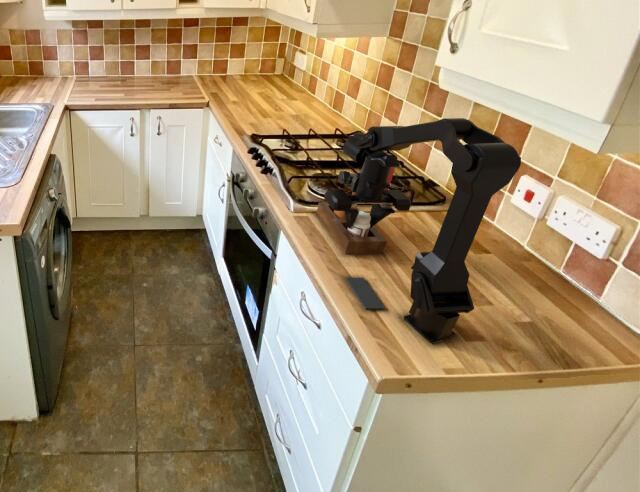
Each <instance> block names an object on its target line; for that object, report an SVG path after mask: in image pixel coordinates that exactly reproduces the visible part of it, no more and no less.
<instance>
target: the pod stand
mask: <svg viewBox="0 0 640 492" xmlns="http://www.w3.org/2000/svg"><path fill="white" fill-rule="evenodd" d="M356 209H357V210H358V211H361V210H360V209H359V208H358V206H357V207H356ZM333 212H334V210H333V209H332V208H331V206H330V205H329V204H328V203H327V201H319V202H318V205H317V209H316V212H315V214H316V216H317V217H318V219H319V220H320V221H321V223H322V224H323V225H324V227H325V228H326V230H327V232H328V233H329V234H330V236H331V237H332V238H333V240H334V241H335V242H336V244H337V245H338V247H339V248H340V249H341V251H342V252H343V253H344V255H383V254H384V252H385V249H386V246H387V243H388V240H386V238H385V237H384V236H383V235H382V234H381V233H380V232H379V230H378V229H377V228H376V227H375V225H374V226H373V227H372V228H371V229H369V232H368V235H367V237H352V236H351V235H350V234H349V232H348V231H347V228H348V227H347V223H346V218H337V217H336V216H335V214H334V213H333Z"/></svg>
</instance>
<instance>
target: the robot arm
mask: <svg viewBox="0 0 640 492" xmlns="http://www.w3.org/2000/svg"><path fill="white" fill-rule="evenodd" d="M460 140H461V141H462V142H463V143H464V144H463V143H462V142H461V141H460ZM432 142H440V143H441V148H442V153H443V154H444V156H445V157H446V158H447V159H448V160H449V161H450V162H451V168H450V169H451V171H450V173H451V176H452V178H453V181H454V184H455V189H454V193H453V195H452V197H451V200H450V203H449V205H448V208H447V210H446V214H445V216H444V219H443V221H442V224H441V227H440V230H439V232H438V235H437V238H436V240H435V243H434V245H433V248H432V250H431V251H422V252H421V251H420V252H417V253H416V255H415V257H414V262H413V265H411V267H410V269H411V270H412V271H411V277H410V282H411V283H410V298H411V300H412V303H411V306H410V308H409V311H408V313H409V314H406V315H404V316H403V320H404V321H405V322H407V324H408V325H409V326H411V328H413V329H414V331H416V332H417V333H418V334H419V335H420V336H422V337H423V338H424V340H426V341H427V342H428V343H429V344H437V343H439V342H443V341H445V340H449V339H452V338H455V337H456V336H457V334H456V332H455V331H454V328H455V327H456V325H457V323H458V320H459V319H460V317H461V315H460V314H469V313H471V312H472V311H474V310H475V306H474V302H473V299H472V296H471V292H470V289H469V285H468V284H469V278H470V271H469V269H468V266H467V265H466V259H467V256H468V254H469V252H470V249H471V247H472V245H473V242H474V239H475V237H476V235H477V232H478V230H479V228H480V225H481V223H482V220H483V218H484V216H485V214H486V211H487V209H488V207H489V204H490V201H491V199H492V197H493V196H494V195H495V194H497V193H498V192H499V191H501V190H502V189H503V188H504V187H506V186H507V185H509V184H510V183H511V181H512V180H513V179H514V177H515V176H516V174H517V173H518V171H519V170H520V167H521V166H522V165H521V164H522V157H521V156H519V155H520V154H519V153H518V150H516V149H515V147H514V146H512V145H511V144H509V143H507V142H505V141H504V140H503V139H502V138H501V137H499V136H497V135H495V134H493V133H491V132H489V131H487V130H485V129H483V128H480V127H478V126H477V125H476V124H475V123H474V122H473V121H471V120H469V119H467V118H464V117H458V118H457V117H453V118H449V117H448V118H441V119H439V120H436V121H428V122H423V123H417V124H410V125H379V126H378V125H376V126H375V125H373V126H370V127H369V128H368V129H367V132H366V133H363V132H354V133H353V136H352V137H349V138H348V139H347V140H346V141H345V143H343V146H342V151H343V153H344V154H345V155H346V156H347V157H349V158H350V159H351V160H352V161H353V162H354V163H356V164H357V165H358V166H362V168H361V171H360V172H356V173H355V172H354V173H352V172H350V171H347V170H340V171H339V173H338V176H337V181H338V183H340V184H342V185H344V186H345V187H350V189H349V191H351V193H354V194H351V195H350V194H347V193H346V192H345V191H344V190H343V189H328V190H326V191H325V194H324V197H323V199H324V200H325V202H327V203H328V204H329V205H330V206H331V208H332V209H333V210H335V211H344V212H345V217H346V223H347V227H348V228H349V229H351V227H352V226H353V224H354V222H355V220H356V218H357V216H358V214H359V211H358V210H357V209H356V207H357V208H358V205H371V209H370V213H369V215H370V216H371V220H370V229H371V228H372V227H373V226H374V227H375V226H376V225H377V224H379V223H380V222H381V221H382V220H384V219H385V218H386V217H388V216H390V215H391V214H395V213H396V210H397V212H409V211H410V209H411V207H412V200H411V198H409V197H408V196H407V195H406V194H405V193H403V192H402V191H401V190H400V189H390V187H391V183H390V184H389V183H388V182H387V180H388V177H389V174H390V170H391V167H395V168H398V167H400V166H401V165H400V161H399V160H398V159H397V157H396V155H395V154H390V153H388V152H392V151H395V152H396V151H402V150H405V149H407V148H410V147H411V146H412V145H414V144H424V143H432ZM385 188H389V189H388V190H385ZM393 205H394V208H395V209H396V210H395V209H394V208H393Z"/></svg>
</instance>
